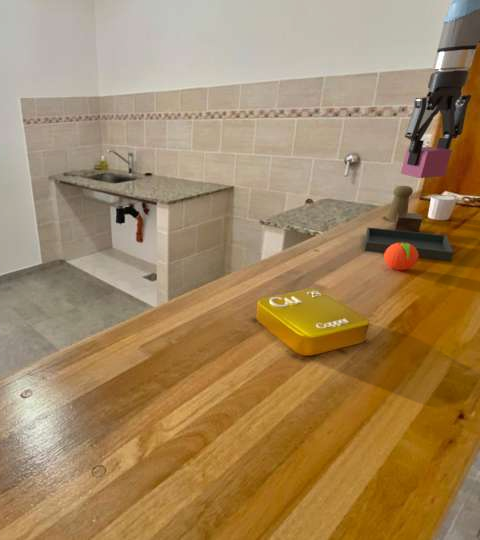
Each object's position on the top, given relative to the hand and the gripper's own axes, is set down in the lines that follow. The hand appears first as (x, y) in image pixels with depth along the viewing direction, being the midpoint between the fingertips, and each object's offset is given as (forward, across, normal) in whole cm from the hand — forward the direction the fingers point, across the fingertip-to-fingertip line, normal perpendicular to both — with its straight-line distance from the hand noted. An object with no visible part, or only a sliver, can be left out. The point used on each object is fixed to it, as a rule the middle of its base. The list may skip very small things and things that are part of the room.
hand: (425, 163), depth 105 cm
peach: (+22, +18, +19) cm, 34 cm away
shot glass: (+22, -25, -15) cm, 37 cm away
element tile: (+22, +53, +40) cm, 70 cm away
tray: (+22, +5, +6) cm, 23 cm away
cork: (+22, -12, -19) cm, 32 cm away
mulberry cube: (+3, 0, 0) cm, 3 cm away
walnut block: (+22, -6, -6) cm, 24 cm away
